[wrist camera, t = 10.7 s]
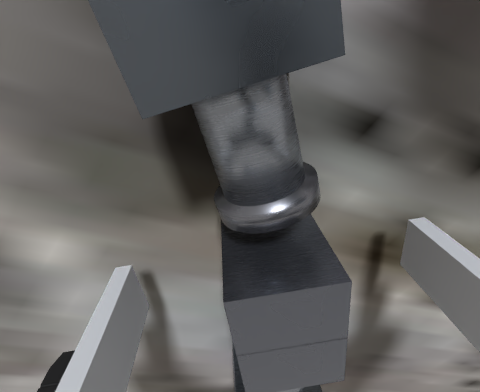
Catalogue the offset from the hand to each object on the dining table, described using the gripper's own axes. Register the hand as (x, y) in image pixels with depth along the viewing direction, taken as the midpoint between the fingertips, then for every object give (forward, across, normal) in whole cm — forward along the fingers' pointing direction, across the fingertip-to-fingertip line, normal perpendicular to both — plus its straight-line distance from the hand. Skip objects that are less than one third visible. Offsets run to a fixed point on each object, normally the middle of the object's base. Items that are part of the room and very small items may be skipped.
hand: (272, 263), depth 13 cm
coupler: (+2, 0, 0) cm, 2 cm away
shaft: (+2, 0, +8) cm, 8 cm away
